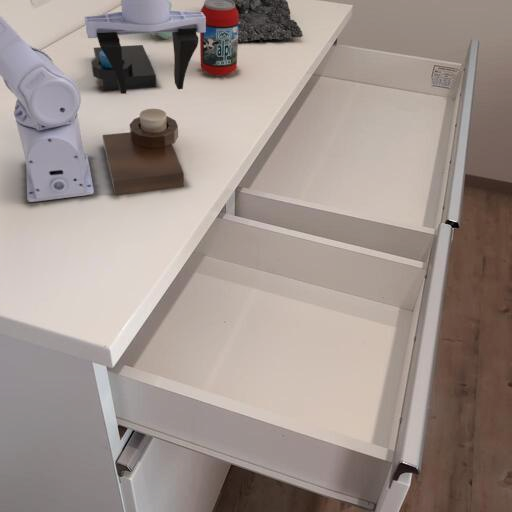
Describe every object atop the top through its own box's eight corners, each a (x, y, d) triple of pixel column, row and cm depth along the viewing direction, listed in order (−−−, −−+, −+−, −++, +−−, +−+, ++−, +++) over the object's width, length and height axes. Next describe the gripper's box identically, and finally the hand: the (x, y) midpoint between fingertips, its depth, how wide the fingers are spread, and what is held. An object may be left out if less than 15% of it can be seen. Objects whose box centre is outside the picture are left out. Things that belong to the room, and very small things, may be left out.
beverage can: (206, 79, 98) (207, 10, 90) (195, 65, 103) (195, -3, 95) (241, 76, 100) (245, 7, 93) (229, 62, 105) (231, -5, 97)
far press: (157, 90, 94) (156, 67, 91) (96, 94, 91) (93, 71, 88) (143, 56, 105) (141, 35, 102) (88, 59, 102) (85, 37, 99)
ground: (250, 43, 109) (250, 64, 112) (342, 14, 116) (339, 35, 120) (192, -4, 122) (194, 16, 126) (277, -27, 130) (277, -7, 134)
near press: (193, 185, 73) (192, 159, 70) (115, 195, 70) (111, 168, 67) (173, 137, 82) (172, 112, 79) (103, 144, 79) (99, 119, 77)
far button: (124, 68, 91) (122, 56, 90) (102, 69, 90) (100, 57, 89) (121, 60, 94) (120, 48, 92) (99, 61, 93) (98, 49, 91)
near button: (169, 132, 76) (168, 119, 74) (143, 135, 75) (141, 121, 73) (164, 120, 78) (163, 107, 77) (138, 123, 77) (137, 109, 76)
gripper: (196, -33, 69) (197, 72, 77) (76, -31, 65) (92, 79, 74) (210, -17, 64) (209, 93, 73) (81, -14, 60) (97, 102, 69)
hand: (151, 88), depth 73 cm, fingers open, 7 cm apart
